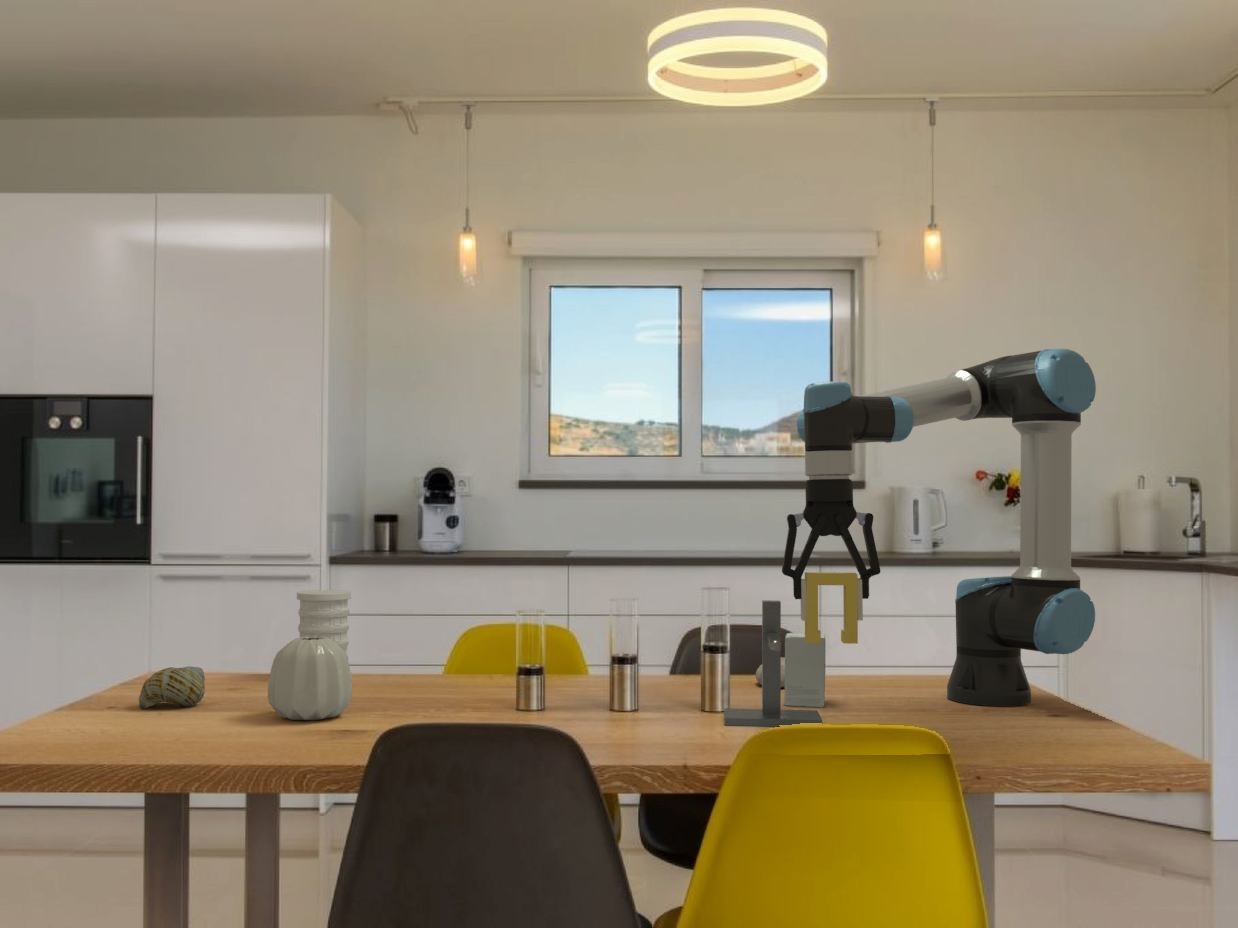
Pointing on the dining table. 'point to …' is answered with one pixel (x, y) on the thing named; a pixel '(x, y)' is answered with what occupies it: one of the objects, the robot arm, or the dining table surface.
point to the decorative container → (324, 615)
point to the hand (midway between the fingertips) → (831, 619)
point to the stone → (759, 673)
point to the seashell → (173, 687)
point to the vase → (310, 680)
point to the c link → (850, 604)
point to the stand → (770, 681)
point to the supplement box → (804, 671)
